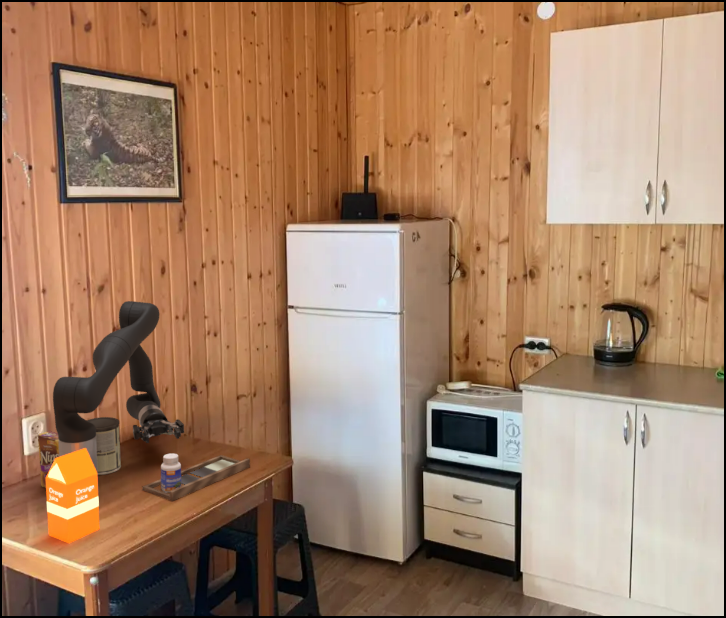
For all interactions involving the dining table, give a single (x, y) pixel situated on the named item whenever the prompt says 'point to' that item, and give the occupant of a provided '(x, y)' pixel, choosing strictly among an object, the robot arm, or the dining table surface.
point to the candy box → (47, 452)
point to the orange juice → (72, 497)
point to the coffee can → (107, 444)
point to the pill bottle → (170, 473)
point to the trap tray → (207, 473)
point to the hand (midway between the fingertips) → (163, 437)
